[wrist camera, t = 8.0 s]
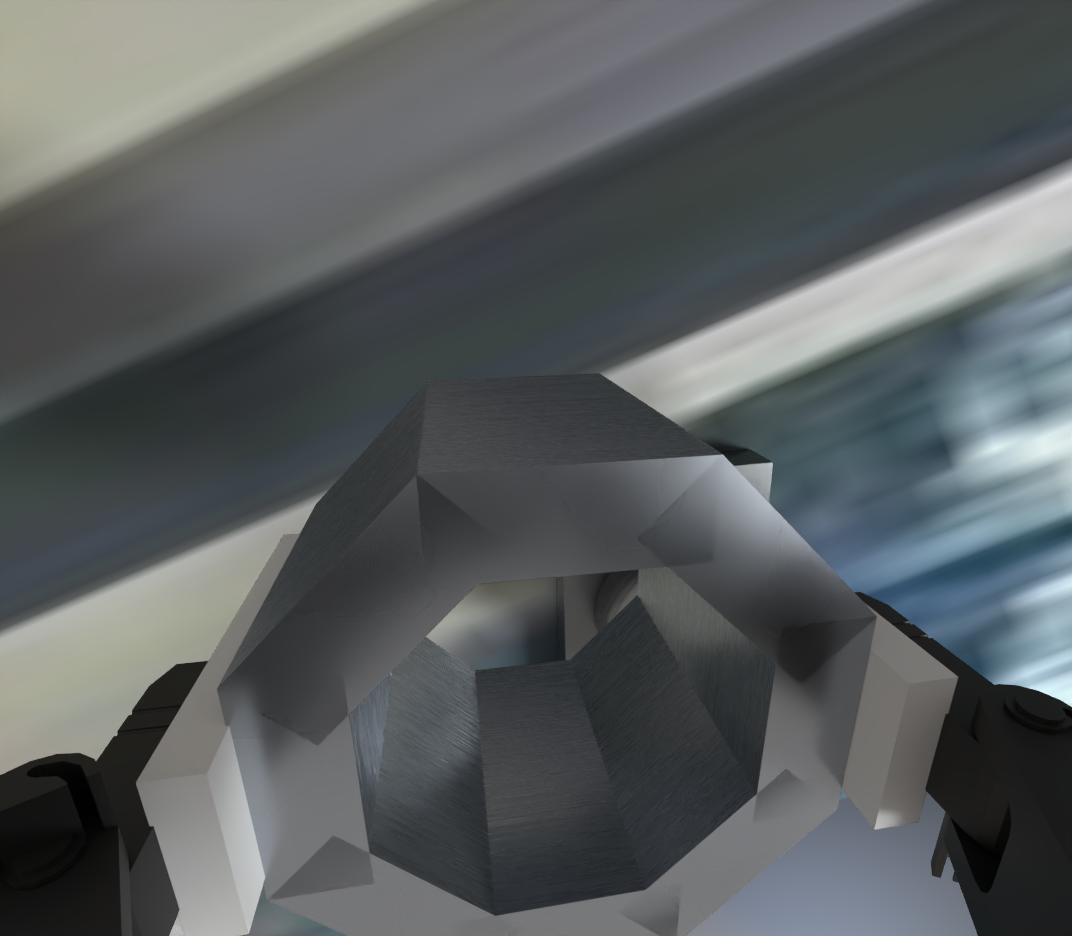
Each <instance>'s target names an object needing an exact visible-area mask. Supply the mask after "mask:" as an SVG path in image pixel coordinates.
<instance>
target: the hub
mask: <svg viewBox="0 0 1072 936" xmlns="http://www.w3.org/2000/svg"><path fill="white" fill-rule="evenodd" d="M638 569H639V571H638V591H637V596H636V597H635V598H634V599H633V600H632V601H631V602H630V603H629V604H627V605H626V606H625V607H624V608H623V609H622V610H621V611H620V612H619V613H618V614H617V615H616V616H615V617H614V618H613V619H612V620H611V621H610V622H609V623H608V624H607V625H606V626H605V627H604V628H602V629H601V630H600V631H599V632H598V633H597V634H596V635H595V636H594V637H593V638H592V639H591V640H590V641H589V642H588V643H587V644H586V645H585V646H584V647H583V648H582V649H581V650H580V651H579V652H578V653H576V654H575V655H574V656H573V657H572V658H571V659H570V660H564V661H555V662H546V663H537V664H528V665H519V666H510V667H501V668H493V669H484V670H473V669H472V668H470V667H469V666H468V665H466V664H465V663H463V662H462V661H460V660H459V659H457V658H456V657H454V656H453V655H451V654H450V653H448V652H447V651H446V650H444V649H443V648H441V647H440V646H438V645H437V644H435V643H434V642H432V641H431V640H429V639H428V638H426V636H427V635H428V634H429V633H430V632H431V631H432V630H433V629H434V628H435V627H436V626H437V625H438V623H439V622H440V621H441V620H442V619H443V618H444V617H445V616H446V615H447V614H448V613H449V612H450V611H451V610H452V609H453V608H454V607H455V606H456V605H457V604H458V603H459V602H460V601H461V600H462V599H463V598H464V597H465V596H466V595H467V594H468V593H469V592H470V591H471V590H472V589H473V588H474V587H475V586H476V585H477V584H485V583H496V582H507V581H518V580H528V579H539V578H550V577H561V576H572V575H583V574H594V573H605V572H616V571H627V570H638ZM876 620H877V616H876V615H875V614H874V613H873V612H872V611H871V610H870V608H869V607H868V606H867V605H866V604H865V603H864V602H863V601H862V600H861V599H860V598H859V597H858V596H857V595H856V594H855V593H854V592H853V591H852V590H851V589H850V587H849V586H848V585H847V584H846V583H845V582H844V581H843V580H842V579H841V578H840V577H839V576H838V575H837V574H836V573H835V572H834V571H833V570H832V569H831V568H830V567H829V565H828V564H827V563H826V562H825V561H824V560H823V559H822V558H821V557H820V556H819V555H818V554H817V553H816V552H815V551H814V550H813V549H812V548H811V547H810V546H809V544H808V543H807V542H806V541H805V540H804V539H803V538H802V537H801V536H800V535H799V534H798V533H797V532H796V531H795V530H794V529H793V528H792V527H791V526H790V525H789V524H788V522H787V521H786V520H785V519H784V518H783V517H782V516H781V515H780V514H779V513H778V512H777V511H776V510H775V509H774V508H773V507H772V506H771V505H770V504H769V503H768V501H767V500H766V499H765V498H764V497H763V496H762V495H761V494H760V493H759V492H758V491H757V490H756V489H755V488H754V487H753V486H752V485H751V484H750V483H749V482H748V481H747V479H746V478H745V477H744V476H743V475H742V474H741V473H740V472H739V471H738V470H737V469H736V468H735V467H734V466H733V465H732V464H731V463H730V462H729V461H728V460H727V458H726V457H725V456H724V455H723V454H721V453H720V452H718V451H717V450H715V449H714V448H712V447H711V446H709V445H708V444H706V443H705V442H703V441H702V440H700V439H699V438H697V437H696V436H694V435H692V434H691V433H689V432H688V431H686V430H685V429H683V428H682V427H680V426H679V425H677V424H676V423H674V422H673V421H671V420H670V419H668V418H667V417H665V416H663V415H662V414H660V413H659V412H657V411H656V410H654V409H653V408H651V407H650V406H648V405H647V404H645V403H644V402H642V401H641V400H639V399H638V398H636V397H635V396H633V395H631V394H630V393H628V392H627V391H625V390H624V389H622V388H621V387H619V386H618V385H616V384H615V383H613V382H612V381H610V380H609V379H607V378H606V377H604V376H602V375H601V374H599V373H598V374H574V375H550V376H526V377H502V378H478V379H454V380H430V381H429V380H428V381H427V382H426V383H425V385H424V386H423V387H422V388H421V389H420V390H419V391H418V392H417V393H416V395H415V396H414V397H413V398H412V399H411V400H410V401H409V402H408V403H407V404H406V406H405V407H404V408H403V409H402V410H401V411H400V412H399V413H398V414H397V416H396V417H395V418H394V419H393V420H392V421H391V422H390V423H389V424H388V425H387V427H386V428H385V429H384V430H383V431H382V432H381V433H380V434H379V435H378V437H377V438H376V439H375V440H374V441H373V442H372V443H371V444H370V445H369V446H368V448H367V449H366V450H365V451H364V452H363V453H362V454H361V455H360V456H359V457H358V459H357V460H356V461H355V462H354V463H353V464H352V465H351V466H350V467H349V469H348V470H347V471H346V472H345V473H344V474H343V475H342V476H341V477H340V478H339V480H338V481H337V482H336V483H335V484H334V485H333V486H332V487H331V488H330V490H329V491H328V492H327V493H326V494H325V495H324V496H323V497H322V498H321V499H320V501H319V502H318V503H317V504H316V505H315V507H314V509H313V511H312V513H311V514H310V516H309V518H308V520H307V522H306V524H305V526H304V527H303V529H302V531H301V533H300V535H299V537H298V539H297V541H296V542H295V544H294V546H293V548H292V550H291V552H290V554H289V555H288V557H287V559H286V561H285V563H284V565H283V567H282V568H281V570H280V572H279V574H278V576H277V578H276V580H275V581H274V583H273V585H272V587H271V589H270V591H269V593H268V595H267V596H266V598H265V600H264V602H263V604H262V606H261V608H260V609H259V611H258V613H257V615H256V617H255V619H254V621H253V622H252V624H251V626H250V628H249V630H248V632H247V634H246V635H245V637H244V639H243V641H242V643H241V645H240V647H239V649H238V650H237V652H236V654H235V656H234V658H233V660H232V662H231V663H230V665H229V667H228V669H227V671H226V673H225V675H224V676H223V678H222V680H221V682H220V684H219V686H218V688H217V692H218V696H219V700H220V705H221V709H222V713H223V717H224V721H225V726H229V727H230V731H231V735H232V739H233V744H234V748H235V752H236V756H237V760H238V765H239V769H240V773H241V777H242V782H243V786H244V790H245V794H246V798H247V803H248V807H249V811H250V815H251V820H252V824H253V828H254V832H255V836H256V841H257V845H258V849H259V853H260V858H261V862H262V866H263V870H264V874H265V880H264V883H263V884H264V889H265V893H266V897H267V901H269V902H272V903H274V904H276V905H279V906H281V907H283V908H285V909H288V910H290V911H292V912H295V913H297V914H299V915H302V916H304V917H306V918H309V919H311V920H313V921H315V922H318V923H320V924H322V925H325V926H327V927H329V928H332V929H334V930H336V931H338V932H341V933H343V934H345V935H348V936H686V935H688V934H689V933H690V932H691V931H692V930H693V929H695V928H696V927H697V926H698V925H699V924H701V923H702V922H703V921H704V920H705V919H707V918H708V917H709V916H710V915H711V914H713V913H714V912H715V911H716V910H717V909H718V908H720V907H721V906H722V905H723V904H725V903H726V902H727V901H728V900H729V899H731V898H732V897H733V896H734V895H735V894H736V893H738V892H739V891H740V890H741V889H742V888H744V887H745V886H746V885H747V884H748V883H750V882H751V881H752V880H753V879H754V878H756V877H757V876H758V875H759V874H760V873H762V872H763V871H764V870H765V869H766V868H767V867H768V866H770V865H771V864H772V863H774V862H775V861H776V860H777V859H778V858H779V857H781V856H782V855H783V854H784V853H785V852H787V851H788V850H789V849H790V848H791V847H793V846H794V845H795V844H796V843H797V842H798V841H800V840H801V839H802V838H803V837H804V836H806V835H807V834H808V833H809V832H810V831H812V830H813V829H814V828H815V827H816V826H817V825H819V824H820V823H821V822H822V821H824V820H825V819H826V818H827V817H828V816H830V815H831V814H832V813H833V812H834V811H836V810H837V806H838V802H839V797H840V793H841V788H842V783H843V778H844V773H845V769H846V764H847V759H848V754H849V749H850V745H851V740H852V735H853V730H854V725H855V721H856V716H857V711H858V706H859V702H860V697H861V692H862V687H863V682H864V678H865V673H866V668H867V663H868V658H869V654H870V649H871V644H872V639H873V635H874V630H875V625H876Z"/></svg>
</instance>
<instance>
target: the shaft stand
mask: <svg viewBox="0 0 1072 936" xmlns="http://www.w3.org/2000/svg"><path fill="white" fill-rule="evenodd" d="M721 454H723V455H724V456H725V457H726V458H727V460H728V461H729V462H730V463H731V464H732V465H733V466H734V467H735V468H736V469H737V470H738V471H739V472H740V473H741V474H742V475H743V476H744V477H745V478H746V479H747V481H748V482H749V483H750V484H751V485H752V486H753V487H754V488H755V489H756V490H757V491H758V492H759V493H760V494H761V495H762V496H763V497H764V498H765V499H766V500H767V501H768V503H769V496H770V486H771V477H772V467H773V462H771V461H770V460H768V459H766V458H764V457H763V456H761V455H759V454H757V453H756V452H754V451H752V450H744V451H733V452H721ZM638 571H639V569H638V570H627V571H616V572H605V573H594V574H583V575H572V576H561V577H556V588H557V623H558V657H559V661H564V660H570V659H571V658H572V657H573V656H574V655H575V654H576V653H578V652H579V651H580V650H581V649H582V648H583V647H584V646H585V645H586V644H587V643H588V642H589V641H590V640H591V639H592V638H593V637H594V636H595V635H596V634H597V633H598V632H599V631H600V630H601V629H602V628H604V627H605V626H606V625H607V624H608V623H609V622H610V621H611V620H612V619H613V618H614V617H615V616H616V615H617V614H618V613H619V612H620V611H621V610H622V609H623V608H624V607H625V606H626V605H627V604H629V603H630V602H631V601H632V600H633V599H634V598H635V597H636V596H637V591H638Z"/></svg>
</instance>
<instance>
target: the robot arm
mask: <svg viewBox="0 0 1072 936" xmlns="http://www.w3.org/2000/svg"><path fill="white" fill-rule="evenodd" d="M299 535H300V534H288V535H283V537H282V539H281V540H280V542H279V544H278V545H277V547H276V549H275V550H274V552H273V554H272V555H271V557H270V559H269V560H268V562H267V564H266V565H265V567H264V569H263V570H262V572H261V574H260V575H259V577H258V579H257V580H256V582H255V584H254V585H253V587H252V589H251V591H250V592H249V594H248V596H247V597H246V599H245V601H244V602H243V604H242V606H241V607H240V609H239V611H238V612H237V614H236V616H235V617H234V619H233V621H232V622H231V624H230V626H229V627H228V629H227V631H226V632H225V634H224V636H223V637H222V639H221V641H220V642H219V644H218V646H217V647H216V649H215V651H214V652H213V654H212V656H211V657H210V659H209V661H203V662H194V663H184V664H176V665H175V666H174V667H173V668H171V669H170V670H169V671H168V672H166V673H165V674H164V675H163V676H161V677H160V678H159V679H158V680H156V681H155V682H154V683H153V684H151V685H150V686H149V687H148V689H147V690H146V691H145V693H144V694H143V696H142V697H141V699H140V700H139V701H138V703H137V704H136V706H135V707H134V709H133V710H132V715H129V716H128V717H127V718H126V720H125V721H124V723H123V724H122V726H121V727H120V728H119V730H118V735H117V736H114V737H113V738H112V740H111V741H110V743H109V744H108V746H107V747H106V748H105V750H104V751H103V753H102V754H101V755H100V757H99V758H98V760H97V761H95V759H93V758H91V757H88V756H86V755H83V754H81V753H70V754H55V755H52V756H48V757H44V758H41V759H37V760H34V761H30V762H28V763H26V764H23V765H21V766H19V767H17V768H15V769H13V770H11V771H8V772H6V773H4V774H2V775H0V936H169V934H170V932H171V929H172V927H173V925H174V922H175V920H176V917H177V915H178V918H179V921H180V924H181V928H182V931H183V934H184V936H239V935H245V934H249V931H250V928H251V924H252V921H253V917H254V914H255V910H256V907H257V904H258V900H259V897H260V893H261V890H262V886H263V883H264V880H265V874H264V870H263V866H262V862H261V858H260V853H259V849H258V845H257V841H256V836H255V832H254V828H253V824H252V820H251V815H250V811H249V807H248V803H247V798H246V794H245V790H244V786H243V782H242V777H241V773H240V769H239V765H238V760H237V756H236V752H235V748H234V744H233V739H232V735H231V731H230V727H229V726H225V721H224V717H223V713H222V709H221V705H220V700H219V696H218V692H217V688H218V686H219V684H220V682H221V680H222V678H223V676H224V675H225V673H226V671H227V669H228V667H229V665H230V663H231V662H232V660H233V658H234V656H235V654H236V652H237V650H238V649H239V647H240V645H241V643H242V641H243V639H244V637H245V635H246V634H247V632H248V630H249V628H250V626H251V624H252V622H253V621H254V619H255V617H256V615H257V613H258V611H259V609H260V608H261V606H262V604H263V602H264V600H265V598H266V596H267V595H268V593H269V591H270V589H271V587H272V585H273V583H274V581H275V580H276V578H277V576H278V574H279V572H280V570H281V568H282V567H283V565H284V563H285V561H286V559H287V557H288V555H289V554H290V552H291V550H292V548H293V546H294V544H295V542H296V541H297V539H298V537H299ZM855 594H856V595H857V596H858V597H859V598H860V599H861V600H862V601H863V602H864V603H865V604H866V605H867V606H868V607H869V608H870V610H871V611H872V612H873V613H874V614H875V615H876V616H877V620H876V625H875V630H874V635H873V639H872V644H871V649H870V654H869V658H868V663H867V668H866V673H865V678H864V682H863V687H862V692H861V697H860V702H859V706H858V711H857V716H856V721H855V725H854V730H853V735H852V740H851V745H850V749H849V754H848V759H847V764H846V769H845V773H844V778H843V783H842V788H843V790H844V791H845V792H846V794H847V795H848V796H849V798H850V799H851V800H852V801H853V803H854V804H855V805H856V807H857V808H858V809H859V810H860V812H861V813H862V814H863V816H864V817H865V818H866V820H867V821H868V822H869V823H870V825H871V826H872V827H873V829H874V830H875V829H881V828H887V827H893V826H899V825H905V824H911V823H917V822H919V819H920V815H921V812H922V808H923V804H924V801H925V797H926V793H927V792H928V793H929V794H930V795H931V796H932V797H933V798H934V799H935V801H936V802H937V803H938V804H939V805H940V806H941V807H942V808H943V809H944V810H945V811H946V813H945V816H944V819H943V823H942V826H941V830H940V833H939V837H938V840H937V844H936V847H935V850H934V854H933V857H932V860H931V868H932V876H936V877H941V875H942V872H943V868H944V865H945V862H946V858H947V857H950V860H951V862H952V865H953V868H954V870H955V872H954V875H953V881H955V882H959V884H960V887H961V890H962V893H963V895H964V898H965V901H966V904H967V907H968V909H969V912H970V915H971V918H972V920H973V923H974V926H975V929H976V931H977V934H978V936H1072V707H1071V706H1069V705H1067V704H1066V703H1064V702H1062V701H1061V700H1059V699H1056V698H1054V697H1051V696H1049V695H1047V694H1044V693H1042V692H1040V691H1037V690H1033V689H1029V688H1025V687H1021V686H1017V685H1003V684H997V685H994V684H992V683H991V682H990V681H988V680H987V679H986V678H984V677H983V676H982V675H980V674H979V673H978V672H976V671H975V670H974V669H972V668H971V667H970V666H968V665H967V664H966V663H964V662H963V661H962V660H960V659H959V658H958V657H956V656H955V655H954V654H952V653H951V652H950V651H949V650H947V649H946V648H945V647H943V646H942V645H941V644H939V643H938V642H937V641H935V640H934V639H933V638H928V636H927V634H926V633H925V632H923V631H922V630H921V629H919V628H918V627H917V626H915V625H914V624H913V625H910V621H909V620H907V619H906V618H905V617H903V616H902V615H901V614H899V613H898V612H897V611H895V610H894V609H893V608H891V607H890V606H889V605H887V604H885V603H883V602H881V601H878V600H876V599H874V598H872V597H870V596H868V595H865V594H863V593H861V592H855Z"/></svg>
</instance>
